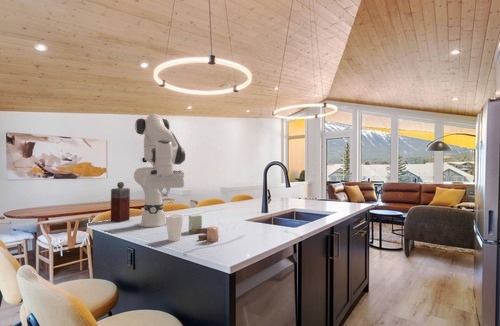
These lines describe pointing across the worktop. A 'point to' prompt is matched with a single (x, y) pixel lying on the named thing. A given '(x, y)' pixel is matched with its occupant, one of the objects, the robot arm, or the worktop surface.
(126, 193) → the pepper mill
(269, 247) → the worktop surface
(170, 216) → the foam cup
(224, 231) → the worktop surface
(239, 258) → the worktop surface
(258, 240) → the worktop surface
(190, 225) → the sage tin
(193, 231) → the bay
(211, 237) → the orange-brown cylindrical block
